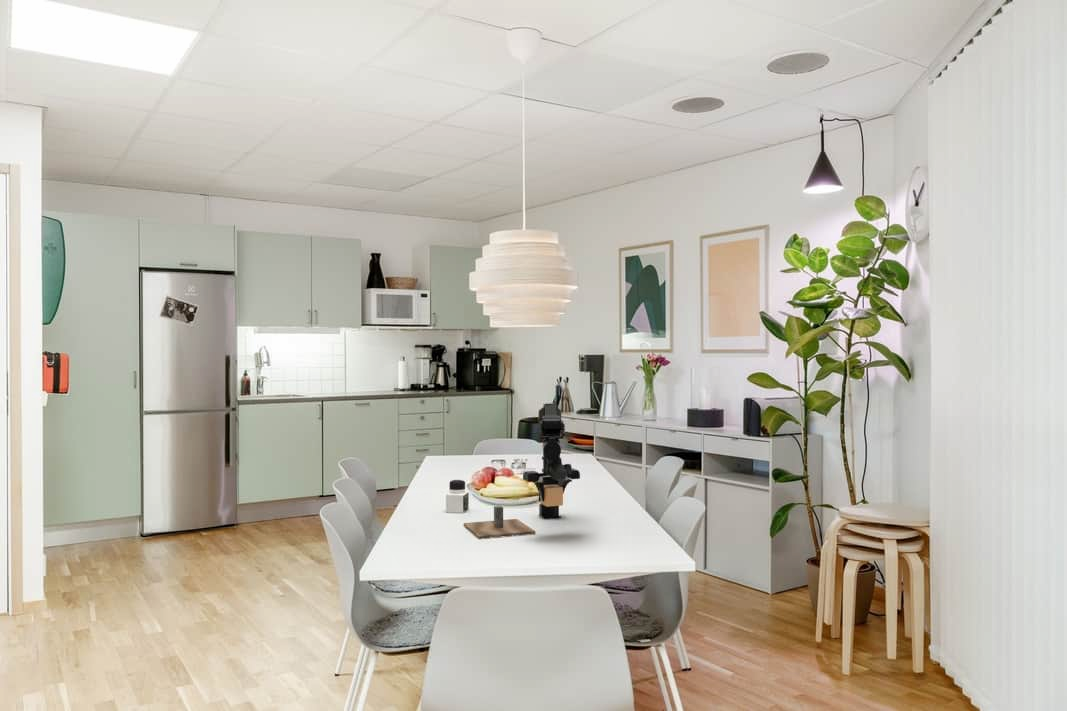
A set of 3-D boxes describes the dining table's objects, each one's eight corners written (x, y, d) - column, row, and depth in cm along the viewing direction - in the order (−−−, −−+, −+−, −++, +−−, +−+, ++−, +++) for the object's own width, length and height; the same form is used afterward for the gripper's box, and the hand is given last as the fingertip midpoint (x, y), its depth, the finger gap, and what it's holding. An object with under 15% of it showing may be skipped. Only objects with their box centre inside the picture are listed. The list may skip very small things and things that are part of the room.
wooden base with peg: (516, 521, 283) (516, 499, 283) (535, 534, 264) (535, 510, 264) (463, 525, 276) (463, 503, 276) (478, 539, 258) (478, 515, 257)
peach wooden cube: (556, 502, 265) (556, 484, 265) (562, 505, 260) (562, 487, 260) (540, 503, 263) (540, 485, 263) (546, 506, 258) (546, 488, 258)
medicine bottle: (463, 513, 297) (463, 482, 297) (445, 512, 298) (445, 481, 298) (468, 509, 304) (468, 479, 304) (451, 508, 305) (451, 478, 305)
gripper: (533, 459, 251) (533, 507, 251) (586, 456, 257) (586, 503, 257) (522, 454, 261) (522, 500, 261) (573, 451, 267) (573, 497, 268)
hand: (551, 500), depth 262 cm, fingers closed on peach wooden cube, 6 cm apart
